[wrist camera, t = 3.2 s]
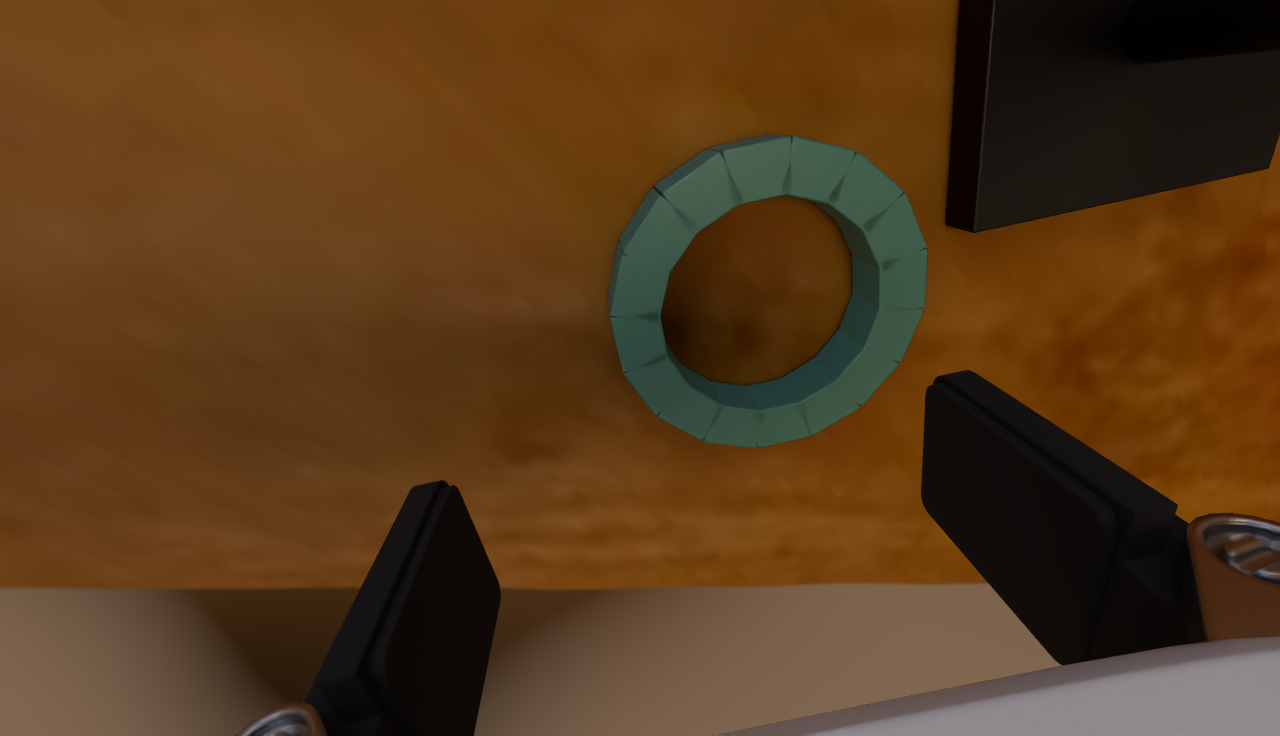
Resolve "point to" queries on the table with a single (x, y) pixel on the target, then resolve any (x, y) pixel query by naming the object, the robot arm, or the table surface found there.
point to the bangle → (871, 323)
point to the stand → (1106, 102)
